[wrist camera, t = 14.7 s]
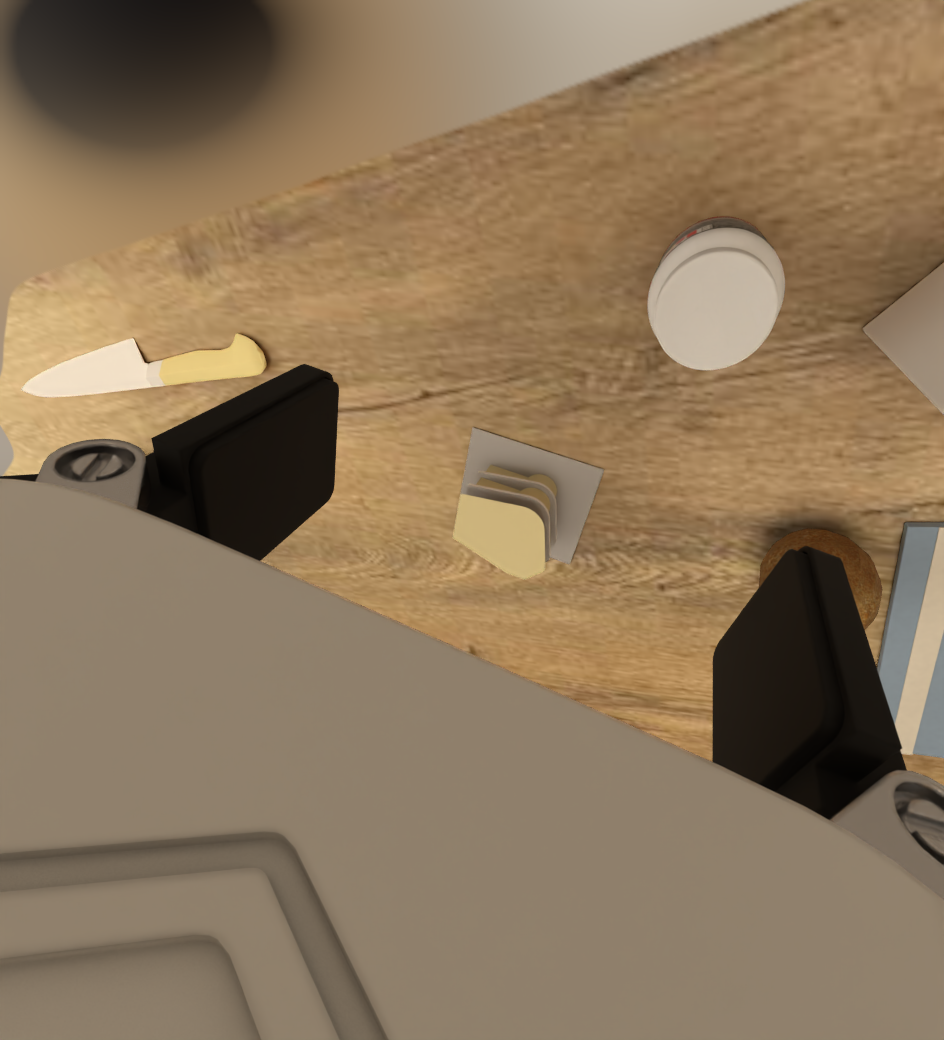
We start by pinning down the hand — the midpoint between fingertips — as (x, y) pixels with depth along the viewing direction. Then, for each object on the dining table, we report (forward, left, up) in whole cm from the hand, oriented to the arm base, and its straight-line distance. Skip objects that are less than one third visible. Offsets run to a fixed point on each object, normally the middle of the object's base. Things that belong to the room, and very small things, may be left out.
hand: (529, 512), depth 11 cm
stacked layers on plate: (+16, -3, -26) cm, 31 cm away
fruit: (+12, +16, -26) cm, 33 cm away
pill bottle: (-2, +3, -26) cm, 26 cm away
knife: (+19, -41, -26) cm, 52 cm away
